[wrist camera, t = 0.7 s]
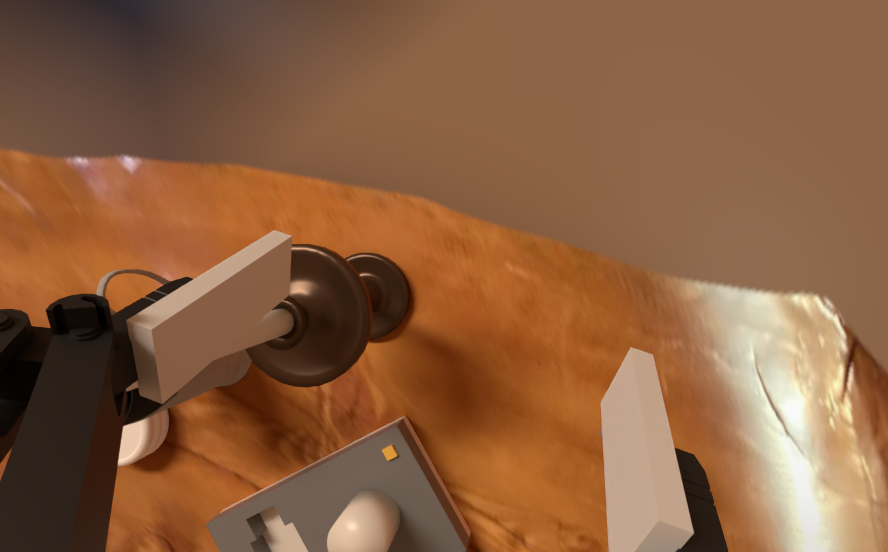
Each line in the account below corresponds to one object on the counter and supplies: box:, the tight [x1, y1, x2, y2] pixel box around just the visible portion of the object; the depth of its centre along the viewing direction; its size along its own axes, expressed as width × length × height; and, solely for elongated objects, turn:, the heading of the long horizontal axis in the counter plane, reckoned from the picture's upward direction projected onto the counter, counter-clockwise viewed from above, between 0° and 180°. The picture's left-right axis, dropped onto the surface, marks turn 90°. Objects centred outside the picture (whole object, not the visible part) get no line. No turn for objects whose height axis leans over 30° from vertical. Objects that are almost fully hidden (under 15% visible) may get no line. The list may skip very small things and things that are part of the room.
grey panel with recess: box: [206, 415, 471, 552], centre depth 47 cm, size 14×26×8 cm, turn 120°
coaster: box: [118, 409, 169, 466], centre depth 54 cm, size 10×10×4 cm
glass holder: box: [96, 269, 252, 426], centre depth 45 cm, size 9×14×15 cm, turn 3°
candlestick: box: [126, 244, 410, 392], centre depth 31 cm, size 11×11×35 cm
